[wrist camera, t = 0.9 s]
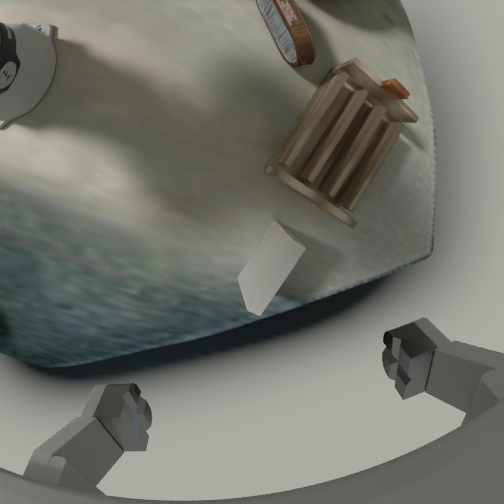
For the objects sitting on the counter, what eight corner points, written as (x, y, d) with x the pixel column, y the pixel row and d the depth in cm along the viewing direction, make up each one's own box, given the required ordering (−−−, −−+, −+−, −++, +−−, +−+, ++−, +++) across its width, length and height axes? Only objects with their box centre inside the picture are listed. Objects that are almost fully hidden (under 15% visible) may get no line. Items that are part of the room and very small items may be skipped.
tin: (303, 69, 38) (326, 56, 30) (285, 74, 38) (304, 61, 30) (265, -9, 32) (279, -34, 25) (246, -5, 32) (257, -30, 24)
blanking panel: (237, 278, 48) (247, 310, 39) (274, 220, 46) (294, 240, 37) (247, 283, 49) (259, 316, 40) (284, 226, 47) (306, 248, 37)
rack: (263, 170, 43) (285, 180, 33) (331, 68, 39) (367, 53, 28) (330, 214, 47) (364, 235, 37) (389, 118, 43) (432, 117, 33)
